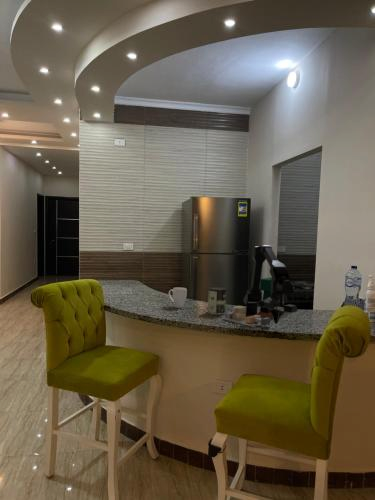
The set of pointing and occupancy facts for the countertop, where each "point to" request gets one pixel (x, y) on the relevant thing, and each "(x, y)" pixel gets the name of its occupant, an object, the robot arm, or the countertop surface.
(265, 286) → the power tool
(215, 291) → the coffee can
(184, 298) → the mug
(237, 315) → the maple block
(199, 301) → the countertop surface
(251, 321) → the sliding jaw
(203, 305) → the countertop surface
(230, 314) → the vise base
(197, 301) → the countertop surface
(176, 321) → the countertop surface
